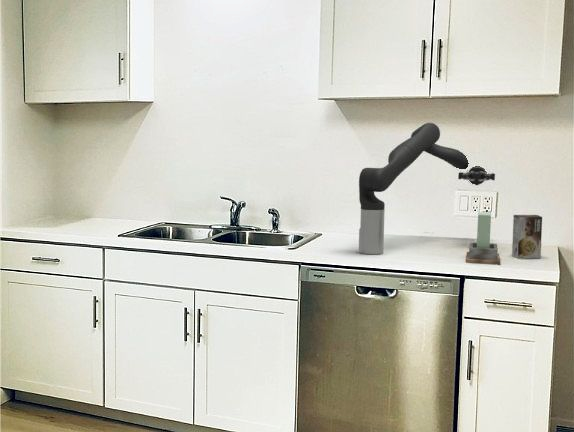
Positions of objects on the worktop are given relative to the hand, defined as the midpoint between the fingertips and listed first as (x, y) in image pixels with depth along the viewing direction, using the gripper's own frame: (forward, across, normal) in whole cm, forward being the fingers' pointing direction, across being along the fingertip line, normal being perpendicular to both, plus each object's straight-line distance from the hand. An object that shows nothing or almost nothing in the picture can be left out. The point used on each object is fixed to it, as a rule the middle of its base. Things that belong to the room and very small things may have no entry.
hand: (476, 177), depth 269 cm
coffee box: (+7, +20, +30) cm, 37 cm away
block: (+18, +4, +29) cm, 34 cm away
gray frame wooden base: (+18, +4, +30) cm, 35 cm away
